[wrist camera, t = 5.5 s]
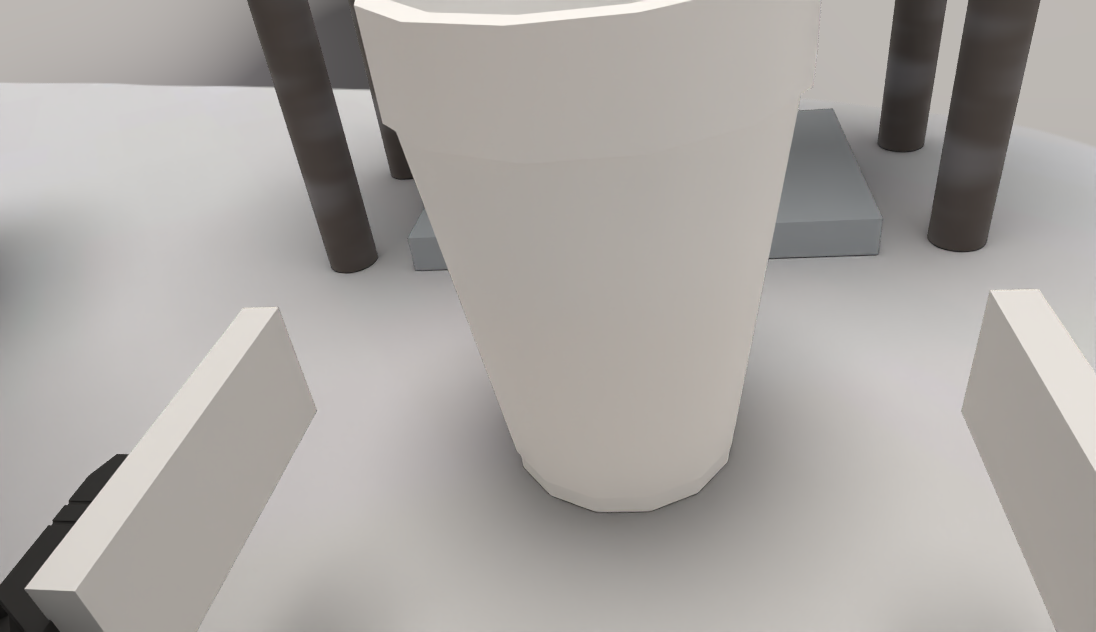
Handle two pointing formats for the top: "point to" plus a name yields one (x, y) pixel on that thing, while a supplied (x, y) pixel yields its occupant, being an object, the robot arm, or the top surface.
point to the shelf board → (781, 200)
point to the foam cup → (602, 212)
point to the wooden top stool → (968, 151)
